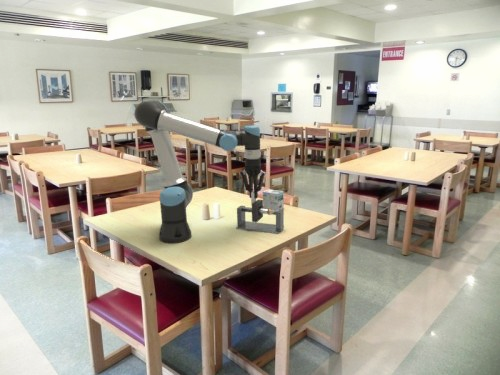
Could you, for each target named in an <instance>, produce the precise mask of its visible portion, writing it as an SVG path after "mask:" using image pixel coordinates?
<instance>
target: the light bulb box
mask: <svg viewBox="0 0 500 375" xmlns="http://www.w3.org/2000/svg"><path fill="white" fill-rule="evenodd" d="M262 200H263V209H271V210H279V209H281V210H284V204H285V203H284V190H276V189H275V190H274V189H269V188H268V189H266V190H264V191H263V190H262Z"/></svg>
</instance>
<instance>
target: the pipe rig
mask: <svg viewBox="0 0 500 375" xmlns="http://www.w3.org/2000/svg"><path fill="white" fill-rule="evenodd" d="M246 213H252V207H248V206H246V205H239V206H238V207H237V208H236V222H237V223H236V224H237V226H236V229H237V230H243V231H253V232H260V233H266V234H267V233H268V234H269V233H270V234H274V235H275V234H277V235H278V234H279V233H282V232H283V231H284V228H285V225H284V221H285V220H284V219H285V218H284V215H285V214H284V209H282V210H281V209H279V210H271V209H260V208H258V213H262V214H263V215H267V216H270V215H273V216H275V224H274V223H264V222H252V221H247V220H246Z"/></svg>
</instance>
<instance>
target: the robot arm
mask: <svg viewBox="0 0 500 375" xmlns="http://www.w3.org/2000/svg"><path fill="white" fill-rule="evenodd" d="M133 115H134V119H135V121H136V122H137V123H138V124H139V125H140V126H142V127H144V129H145V132H146V134H149V135H150V136H151V141H152V143H153V146H154V150H155V153H156V156H157V159H158V162H159V165H160V169H161V171H162V174H163V177H164V180H165V183H164V184H163V187H164V189H162V190H161V191H160V192H159V202H160V203H159V204H160V205H159V206H160V214H161V215H160V216H161V226H160V230H159V233H158V239H159V240H160V241H161V240H162V241H164V242H163V243H166V242H168V244H169V243H170V244H176V243H182V242H186V241H188V240H190V239H191V238H192V230H191V228H190V225H189V223H188V220H187V219H188V218H187V208H188V206H189V204H190V203H191V201H192V200H193V194H194V192H193V191H194V190H193V188H192V187H191V186H190V184H189V183H188V180H187V178H186V177H185V176H183V173H182V171H181V170H182V169H181V167H180V165H179V164H180V163H179V160H178V157H177V155H176V150H175V148H174V144H173V141H172V138H171V136H170V133H173V134H177V135H180V136H183V137H186V138H189V139H192V140H196V141H199V142H202V143H206V144H207V145H208V144H209V145H211V146H215V147H217V148H220V149H222V150H223V151H226V152H230V151H233V150H235V149H236V147H244V158H245V159H244V164H245V165H244V166H245V167H244V170H242V171H240V175H241V177H242V181H243V184H244V187H245V191H247V192H249V194H248V196H249V199H250V200H251V206H252V204H253V203H254V202H255V201H257V199H258V196H259V195H258V192H260V191H262V189H263V188H262V187H263V183H264V180H265V179H264V178H265V176H266V174H267V172H266V171H263V169H262V166H261V164H262V163H261V158H260V157H261V129H260V126H258V125H245V126H244V128H243V129H241V130H227V129H226V130H221V129H218V128H216V127H212V126H209V125H206V124H202V123H199V122H197V121H193V120H192V119H191V120H190V119H187V118H184V117H182V116H179V115H175V114H171V113H169V110H168V107H167V106H166V105H165V104H164V103H163V102H161V101H158V100H147V101H146V100H145V101H142V102H139V103H138V104H137V105H136V107H135V109H134V114H133ZM259 175H260V176H259ZM258 179H259V180H258ZM162 241H161V242H162Z"/></svg>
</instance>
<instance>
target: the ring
mask: <svg viewBox="0 0 500 375" xmlns="http://www.w3.org/2000/svg"><path fill="white" fill-rule="evenodd" d="M251 208H252V212H251V222H257V223H259V221H260V220H261V219H262V218H263V217H264V214H262V213H258V208H260V209H263V199H259V198H257V199H256V201H255V202H254V203H253V204H252V205H251Z"/></svg>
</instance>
